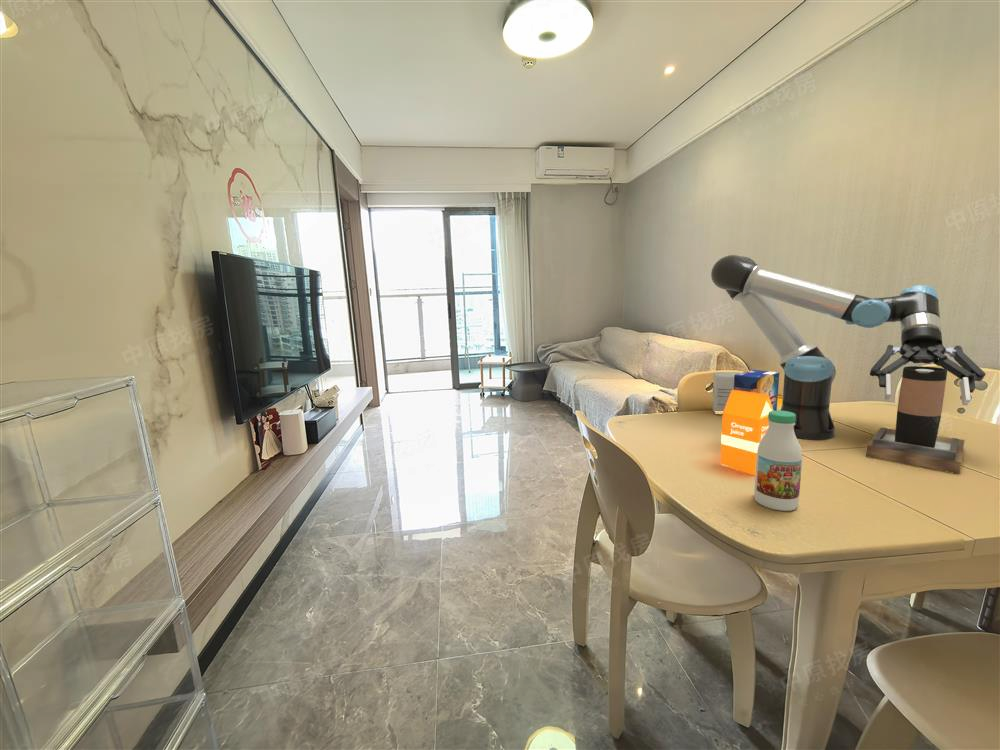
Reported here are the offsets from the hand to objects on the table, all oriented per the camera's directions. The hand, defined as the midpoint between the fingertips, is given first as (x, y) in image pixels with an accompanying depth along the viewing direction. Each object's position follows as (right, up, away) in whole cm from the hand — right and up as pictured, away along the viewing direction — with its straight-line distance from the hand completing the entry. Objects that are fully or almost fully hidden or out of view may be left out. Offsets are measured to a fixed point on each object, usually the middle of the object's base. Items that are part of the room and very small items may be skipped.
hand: (925, 399), depth 97 cm
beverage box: (-34, -15, +15) cm, 40 cm away
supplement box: (-22, -8, +49) cm, 54 cm away
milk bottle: (-49, -21, -15) cm, 55 cm away
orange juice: (-44, -18, +3) cm, 48 cm away
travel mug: (0, -12, +2) cm, 12 cm away
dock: (+3, -14, +5) cm, 16 cm away
